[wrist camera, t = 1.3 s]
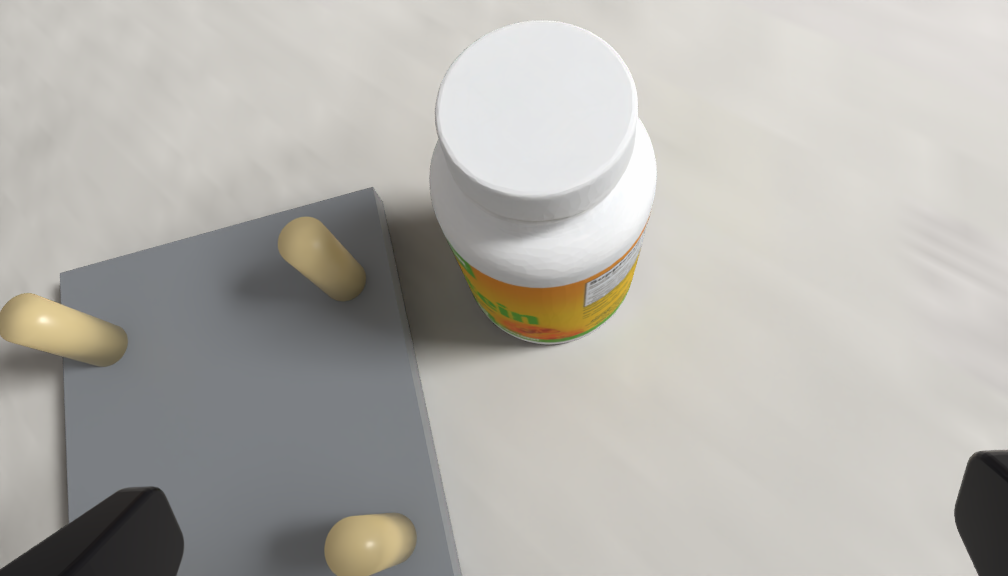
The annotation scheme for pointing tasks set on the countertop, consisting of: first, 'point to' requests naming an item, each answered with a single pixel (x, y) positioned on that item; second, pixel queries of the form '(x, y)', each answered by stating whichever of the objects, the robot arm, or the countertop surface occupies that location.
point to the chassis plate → (255, 395)
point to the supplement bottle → (543, 178)
